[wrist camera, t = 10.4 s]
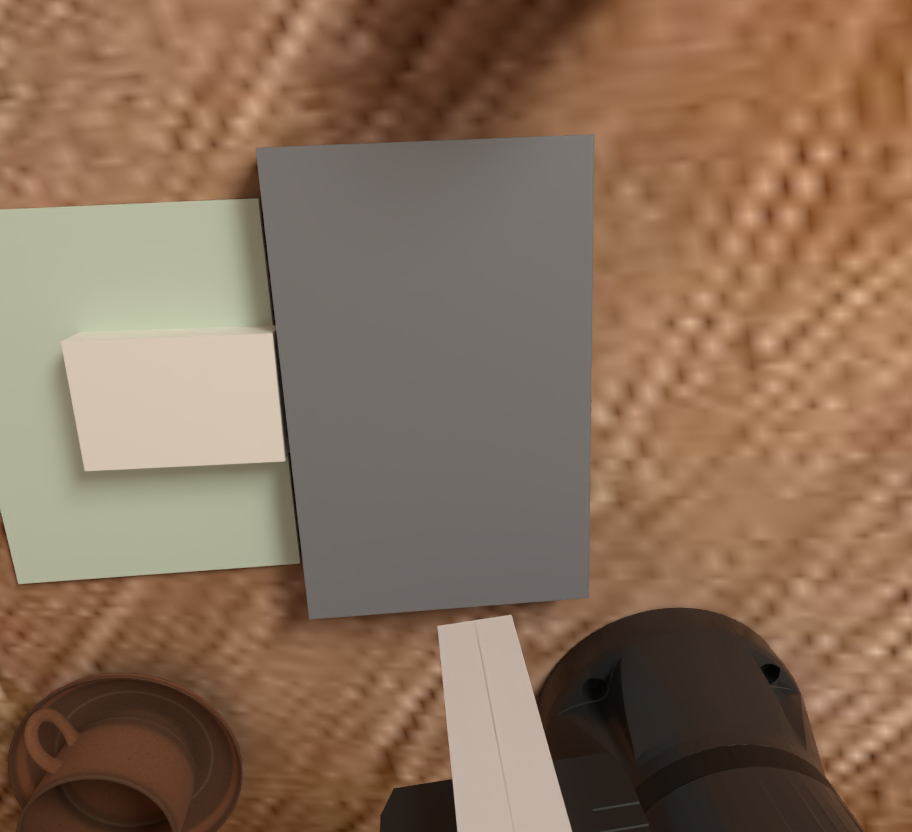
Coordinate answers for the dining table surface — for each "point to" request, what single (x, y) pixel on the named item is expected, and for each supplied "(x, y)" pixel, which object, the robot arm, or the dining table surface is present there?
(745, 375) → the dining table surface
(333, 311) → the plate
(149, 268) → the sage mat
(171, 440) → the cream flat block
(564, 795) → the robot arm
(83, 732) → the cup and saucer
